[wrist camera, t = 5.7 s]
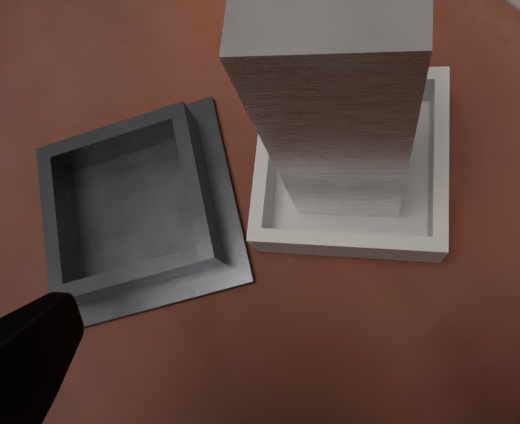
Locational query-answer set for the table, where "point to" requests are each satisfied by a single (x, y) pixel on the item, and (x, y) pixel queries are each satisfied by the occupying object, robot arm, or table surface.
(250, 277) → the tray
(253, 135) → the table surface
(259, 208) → the tote
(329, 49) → the billet
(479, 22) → the table surface
